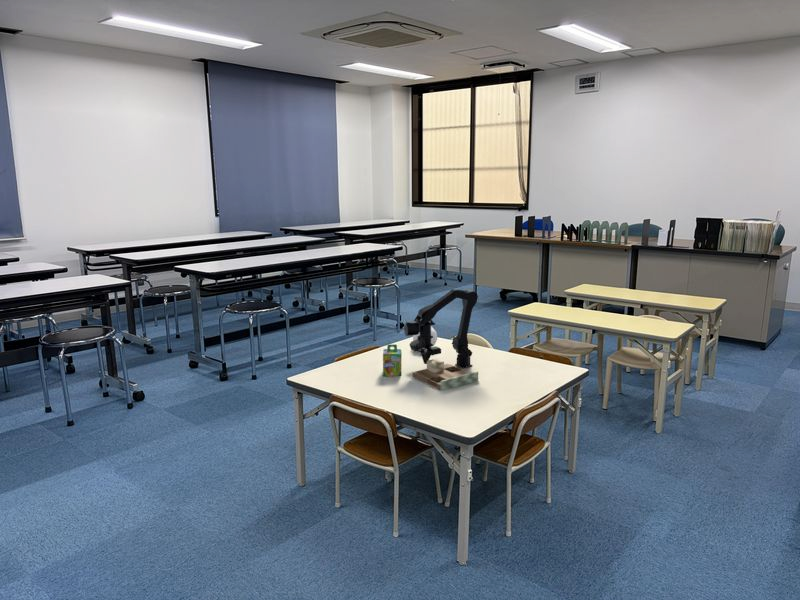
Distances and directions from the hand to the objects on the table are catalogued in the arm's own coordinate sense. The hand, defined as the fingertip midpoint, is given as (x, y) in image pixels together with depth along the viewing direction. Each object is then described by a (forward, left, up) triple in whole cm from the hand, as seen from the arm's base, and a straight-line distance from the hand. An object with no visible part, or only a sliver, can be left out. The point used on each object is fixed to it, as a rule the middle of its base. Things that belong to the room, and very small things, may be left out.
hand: (425, 363), depth 288 cm
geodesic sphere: (-23, -31, -4) cm, 39 cm away
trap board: (0, +15, -4) cm, 15 cm away
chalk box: (+16, -6, -4) cm, 17 cm away
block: (0, +8, -1) cm, 8 cm away
